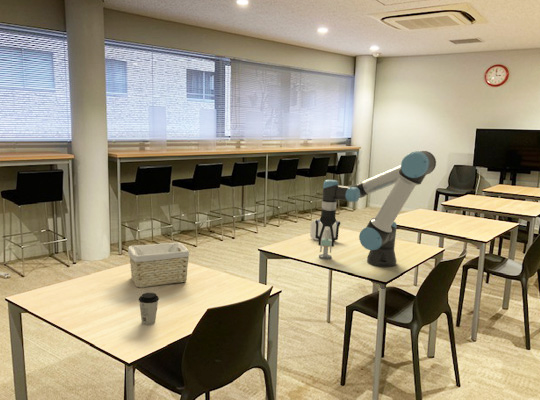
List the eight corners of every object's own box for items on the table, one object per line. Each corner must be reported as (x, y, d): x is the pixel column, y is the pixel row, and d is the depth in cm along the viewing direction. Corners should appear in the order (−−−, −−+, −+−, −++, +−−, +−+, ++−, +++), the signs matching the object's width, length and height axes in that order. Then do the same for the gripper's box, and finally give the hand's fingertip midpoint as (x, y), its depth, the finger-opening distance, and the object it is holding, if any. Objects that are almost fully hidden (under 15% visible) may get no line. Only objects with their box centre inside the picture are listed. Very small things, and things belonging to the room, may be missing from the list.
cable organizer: (308, 238, 299) (309, 219, 297) (320, 236, 306) (321, 218, 304) (326, 243, 288) (327, 224, 286) (338, 241, 295) (339, 223, 293)
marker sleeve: (330, 244, 260) (330, 238, 259) (330, 246, 255) (330, 240, 255) (322, 243, 260) (322, 238, 260) (321, 245, 256) (322, 240, 255)
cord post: (331, 256, 262) (333, 228, 259) (331, 260, 255) (333, 231, 252) (319, 255, 263) (321, 227, 260) (318, 259, 256) (320, 230, 253)
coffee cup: (142, 328, 165) (142, 300, 163) (135, 320, 170) (135, 293, 169) (161, 323, 169) (162, 296, 167) (154, 316, 175) (154, 290, 173)
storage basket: (133, 289, 200) (134, 255, 197) (127, 277, 214) (127, 245, 212) (189, 283, 210) (190, 250, 208) (179, 272, 225) (180, 241, 222)
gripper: (345, 209, 257) (341, 251, 261) (312, 206, 259) (309, 248, 263) (345, 211, 249) (342, 255, 254) (311, 209, 252) (308, 252, 256)
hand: (325, 251), depth 258 cm, fingers closed on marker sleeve, 4 cm apart
